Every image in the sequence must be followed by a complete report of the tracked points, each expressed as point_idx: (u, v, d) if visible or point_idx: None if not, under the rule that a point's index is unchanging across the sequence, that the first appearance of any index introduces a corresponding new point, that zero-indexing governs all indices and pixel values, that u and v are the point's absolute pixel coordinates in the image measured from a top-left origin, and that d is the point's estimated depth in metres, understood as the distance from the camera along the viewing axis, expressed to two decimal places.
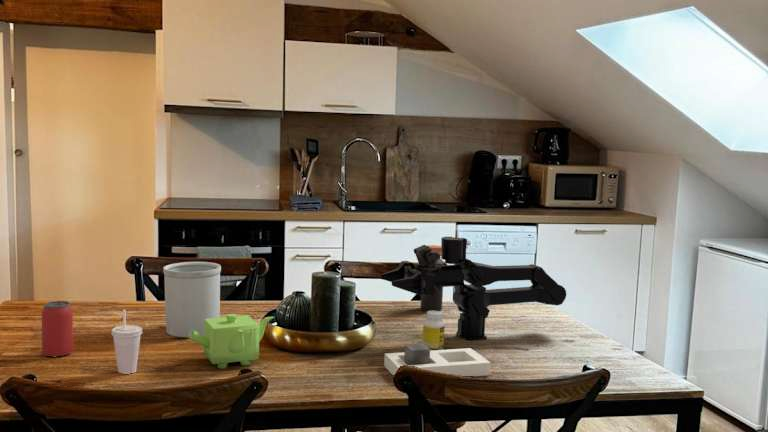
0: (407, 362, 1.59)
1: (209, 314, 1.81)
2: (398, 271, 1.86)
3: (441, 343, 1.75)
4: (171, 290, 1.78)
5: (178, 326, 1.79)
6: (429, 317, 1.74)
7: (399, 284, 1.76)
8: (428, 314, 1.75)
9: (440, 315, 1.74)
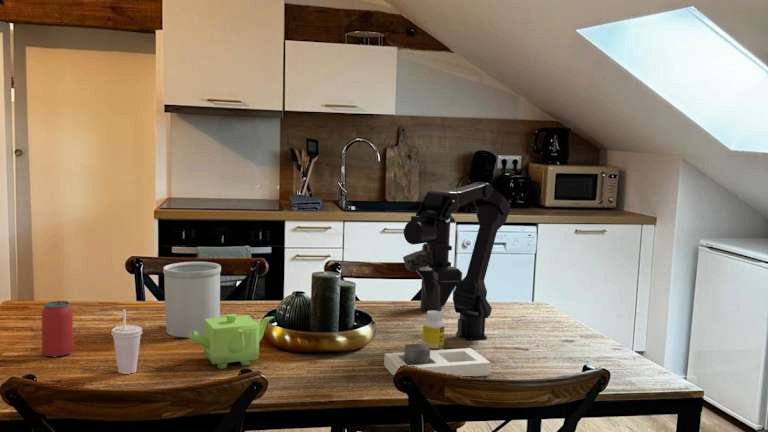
0: (407, 362, 1.59)
1: (209, 314, 1.81)
2: (425, 278, 1.79)
3: (441, 343, 1.75)
4: (171, 290, 1.78)
5: (178, 326, 1.79)
6: (429, 317, 1.74)
7: (444, 299, 1.70)
8: (428, 314, 1.75)
9: (440, 315, 1.74)
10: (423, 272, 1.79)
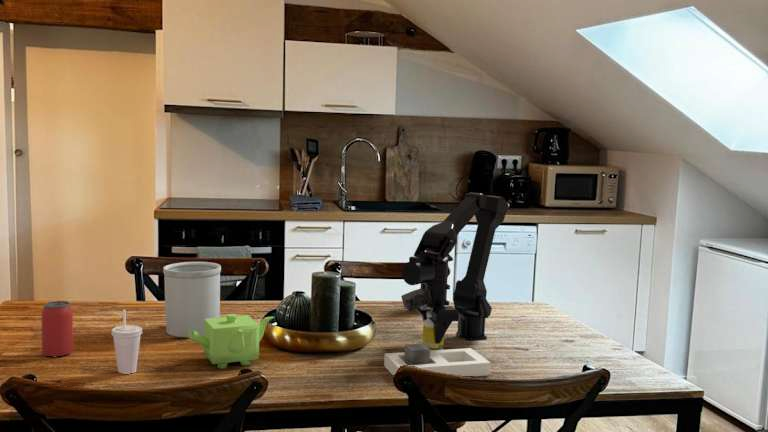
0: (407, 362, 1.59)
1: (209, 314, 1.81)
2: (425, 317, 1.79)
3: (441, 343, 1.75)
4: (171, 290, 1.78)
5: (178, 326, 1.79)
6: None
7: (439, 337, 1.73)
8: (428, 314, 1.75)
9: None
10: (424, 311, 1.79)
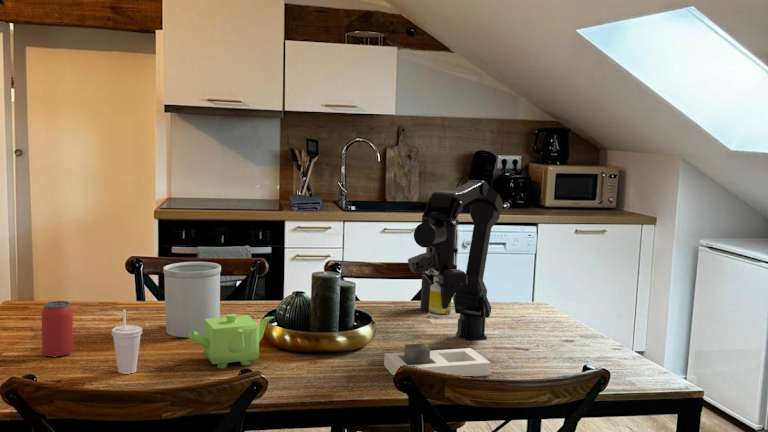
0: (407, 362, 1.59)
1: (209, 314, 1.81)
2: (432, 282, 1.74)
3: (448, 308, 1.70)
4: (171, 290, 1.78)
5: (178, 326, 1.79)
6: None
7: (447, 301, 1.68)
8: (434, 278, 1.70)
9: None
10: (431, 276, 1.74)
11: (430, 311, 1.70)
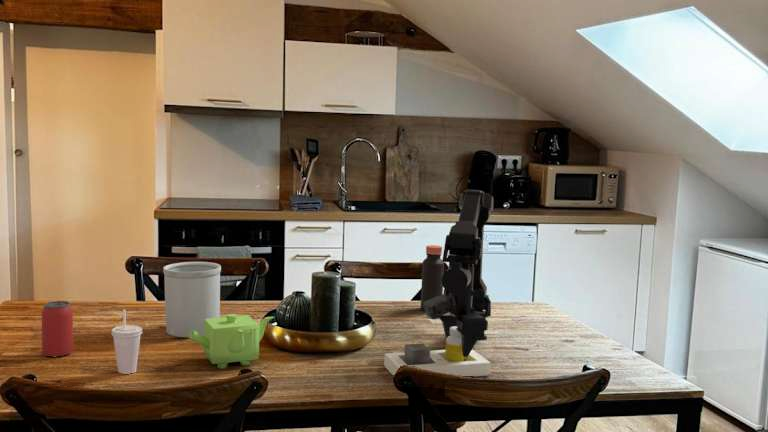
0: (407, 362, 1.59)
1: (209, 314, 1.81)
2: (446, 323, 1.66)
3: None
4: (171, 290, 1.78)
5: (178, 326, 1.79)
6: (452, 334, 1.60)
7: (468, 349, 1.57)
8: (451, 330, 1.61)
9: None
10: (444, 317, 1.66)
11: None
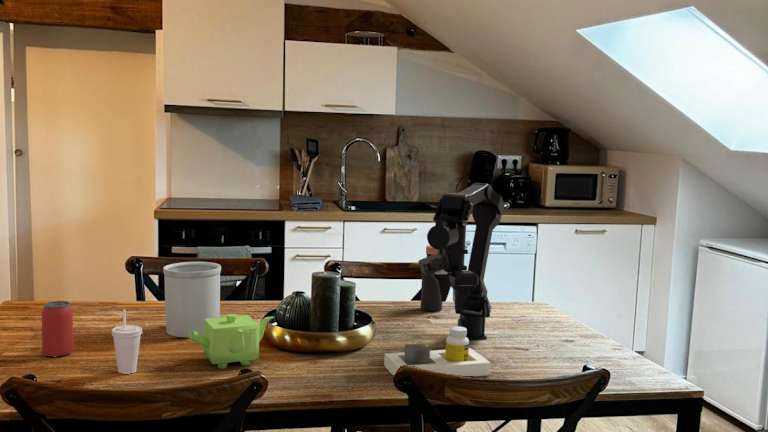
0: (407, 362, 1.59)
1: (209, 314, 1.81)
2: (440, 281, 1.77)
3: None
4: (171, 290, 1.78)
5: (178, 326, 1.79)
6: (452, 334, 1.60)
7: (460, 304, 1.68)
8: (451, 330, 1.61)
9: (464, 332, 1.60)
10: (438, 276, 1.77)
11: None
